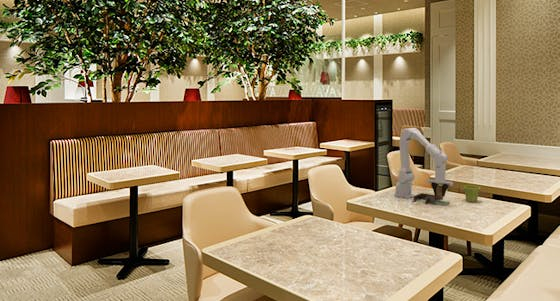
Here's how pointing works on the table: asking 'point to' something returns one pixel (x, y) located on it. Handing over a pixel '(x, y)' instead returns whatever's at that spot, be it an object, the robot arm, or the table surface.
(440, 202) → the end pad
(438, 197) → the peg
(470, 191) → the plant pot
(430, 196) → the walled course
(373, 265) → the table surface
